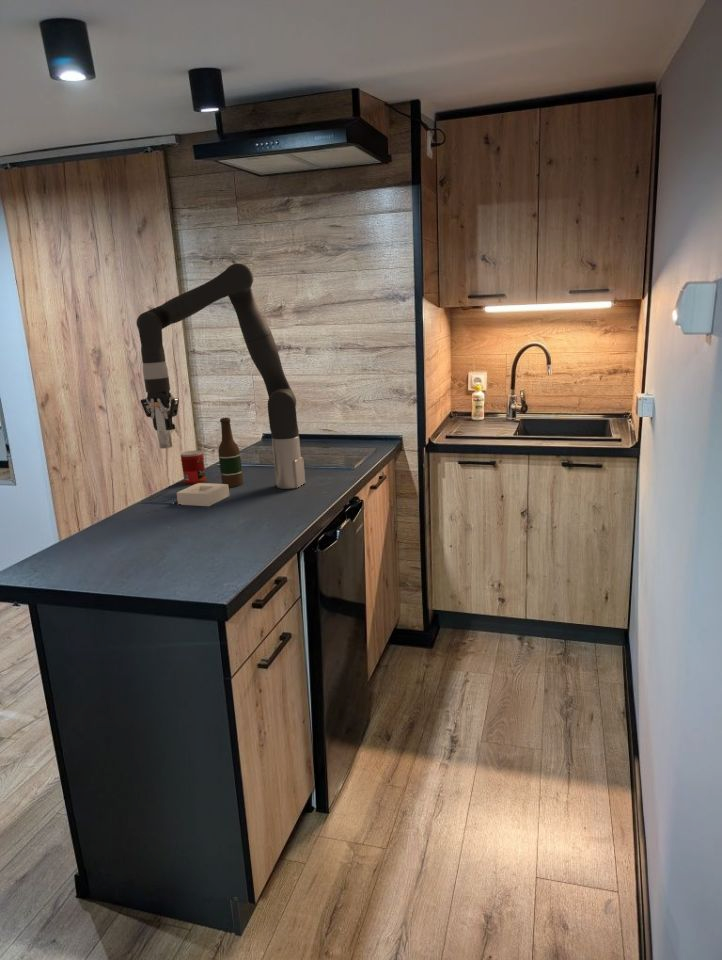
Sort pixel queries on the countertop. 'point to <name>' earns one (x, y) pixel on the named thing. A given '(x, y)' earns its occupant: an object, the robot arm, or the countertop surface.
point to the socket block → (203, 494)
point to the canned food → (193, 467)
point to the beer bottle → (229, 457)
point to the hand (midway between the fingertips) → (163, 429)
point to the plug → (162, 428)
